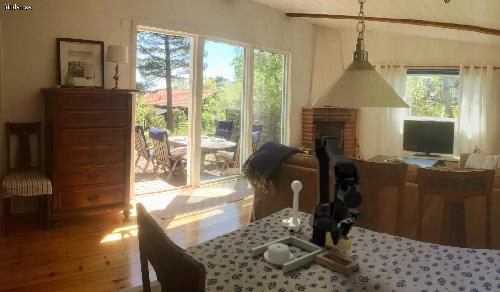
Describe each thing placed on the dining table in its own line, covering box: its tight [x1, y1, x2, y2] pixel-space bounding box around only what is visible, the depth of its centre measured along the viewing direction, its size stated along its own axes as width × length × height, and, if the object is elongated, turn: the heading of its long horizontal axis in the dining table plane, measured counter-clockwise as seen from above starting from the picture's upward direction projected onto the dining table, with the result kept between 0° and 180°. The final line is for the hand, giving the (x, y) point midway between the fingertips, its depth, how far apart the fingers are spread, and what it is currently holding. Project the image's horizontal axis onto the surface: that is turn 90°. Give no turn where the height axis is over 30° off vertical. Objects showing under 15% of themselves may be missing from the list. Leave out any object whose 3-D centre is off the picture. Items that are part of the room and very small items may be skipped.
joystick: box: [281, 180, 303, 233], centre depth 167 cm, size 11×8×20 cm
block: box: [325, 232, 353, 253], centre depth 133 cm, size 8×3×4 cm, turn 43°
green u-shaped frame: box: [250, 235, 326, 274], centre depth 139 cm, size 20×16×2 cm
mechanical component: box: [263, 243, 294, 266], centre depth 137 cm, size 10×4×10 cm
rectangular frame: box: [314, 249, 360, 276], centre depth 134 cm, size 7×12×2 cm, turn 42°
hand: (337, 243), depth 133 cm, fingers closed on block, 3 cm apart
